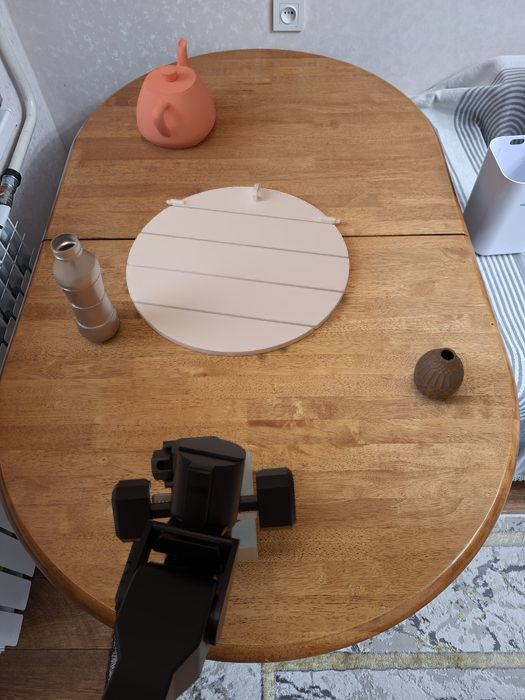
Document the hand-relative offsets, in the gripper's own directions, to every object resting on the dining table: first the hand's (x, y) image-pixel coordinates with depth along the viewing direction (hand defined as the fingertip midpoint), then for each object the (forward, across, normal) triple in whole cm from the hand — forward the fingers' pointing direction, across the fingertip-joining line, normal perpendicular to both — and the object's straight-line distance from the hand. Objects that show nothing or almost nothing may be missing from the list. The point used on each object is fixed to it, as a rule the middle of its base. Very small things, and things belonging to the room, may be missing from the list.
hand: (209, 472), depth 66 cm
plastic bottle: (+28, +18, -14) cm, 36 cm away
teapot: (+67, +6, -53) cm, 86 cm away
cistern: (+5, 0, +8) cm, 10 cm away
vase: (+18, -33, -3) cm, 38 cm away
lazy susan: (+38, -5, -23) cm, 44 cm away
